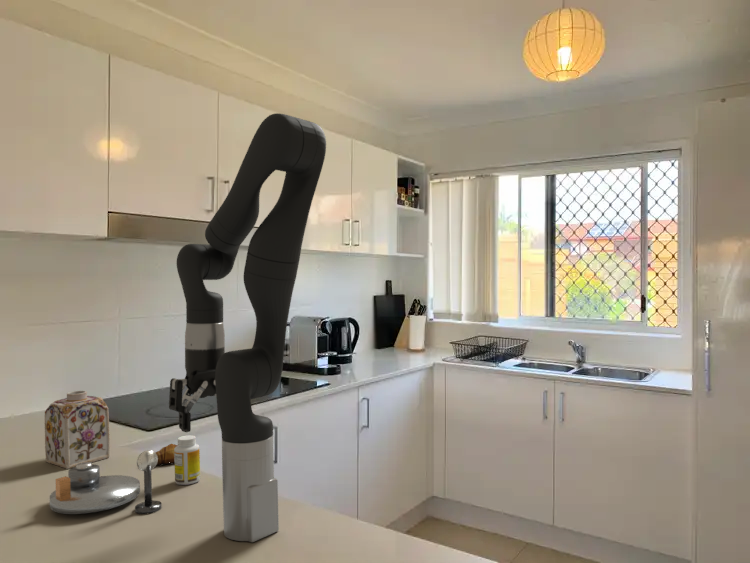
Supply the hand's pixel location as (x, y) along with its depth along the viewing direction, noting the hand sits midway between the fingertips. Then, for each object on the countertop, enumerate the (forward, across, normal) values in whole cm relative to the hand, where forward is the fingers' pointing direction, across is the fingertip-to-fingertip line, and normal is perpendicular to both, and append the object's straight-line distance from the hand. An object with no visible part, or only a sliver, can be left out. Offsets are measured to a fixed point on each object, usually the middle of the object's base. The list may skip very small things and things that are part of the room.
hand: (205, 426), depth 113 cm
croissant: (+19, +14, +36) cm, 43 cm away
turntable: (+17, -11, +23) cm, 31 cm away
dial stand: (+18, -6, +11) cm, 22 cm away
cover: (+15, -11, +29) cm, 34 cm away
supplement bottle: (+18, +8, +19) cm, 28 cm away
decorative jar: (+20, 0, +58) cm, 61 cm away
